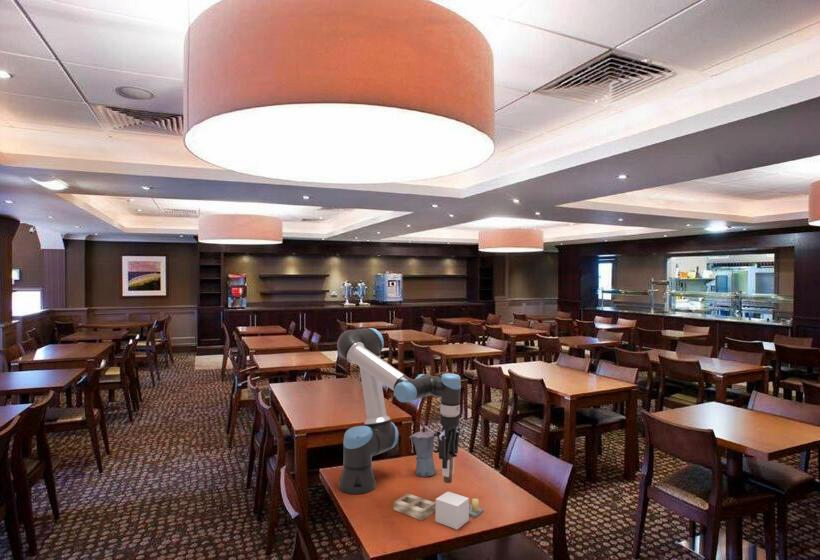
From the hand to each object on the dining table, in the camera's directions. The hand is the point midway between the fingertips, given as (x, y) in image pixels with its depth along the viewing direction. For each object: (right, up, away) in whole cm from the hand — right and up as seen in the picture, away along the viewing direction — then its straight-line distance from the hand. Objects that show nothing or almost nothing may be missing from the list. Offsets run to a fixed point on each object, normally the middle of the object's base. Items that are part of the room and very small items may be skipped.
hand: (447, 474), depth 187 cm
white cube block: (0, -10, -15) cm, 19 cm away
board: (+8, -11, -9) cm, 16 cm away
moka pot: (-8, -10, +27) cm, 30 cm away
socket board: (-13, -10, -8) cm, 18 cm away
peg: (0, -3, 0) cm, 3 cm away
